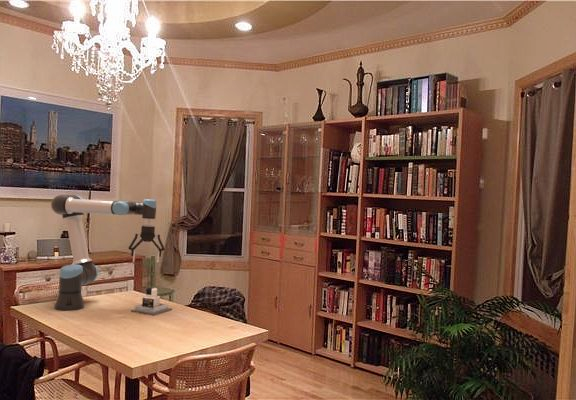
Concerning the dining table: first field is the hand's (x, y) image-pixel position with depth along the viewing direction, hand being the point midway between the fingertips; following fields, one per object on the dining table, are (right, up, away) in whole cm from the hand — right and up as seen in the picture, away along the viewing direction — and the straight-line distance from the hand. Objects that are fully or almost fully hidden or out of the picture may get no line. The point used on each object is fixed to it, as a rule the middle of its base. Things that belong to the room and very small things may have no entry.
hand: (145, 262), depth 273 cm
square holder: (+6, -27, -7) cm, 28 cm away
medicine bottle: (+5, -26, -7) cm, 27 cm away
